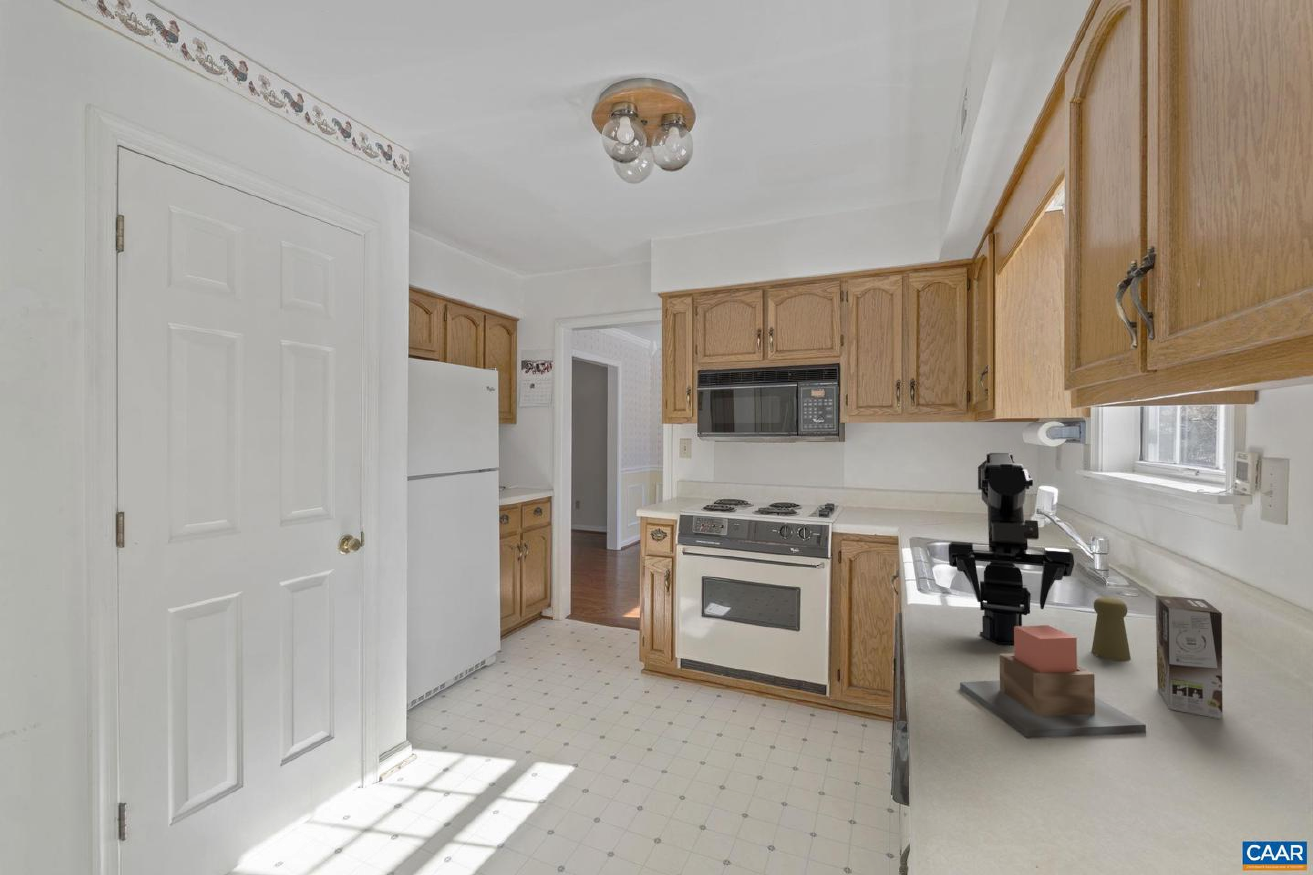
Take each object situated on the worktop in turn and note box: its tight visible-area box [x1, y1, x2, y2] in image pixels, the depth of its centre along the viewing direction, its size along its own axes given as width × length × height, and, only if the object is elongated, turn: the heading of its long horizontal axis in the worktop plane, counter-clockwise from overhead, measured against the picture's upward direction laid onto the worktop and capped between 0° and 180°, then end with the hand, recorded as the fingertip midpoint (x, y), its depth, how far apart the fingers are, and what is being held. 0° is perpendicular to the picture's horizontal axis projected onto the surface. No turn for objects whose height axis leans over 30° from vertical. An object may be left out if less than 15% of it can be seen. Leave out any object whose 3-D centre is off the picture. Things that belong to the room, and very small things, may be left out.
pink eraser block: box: [1013, 624, 1078, 673], centre depth 90 cm, size 6×6×6 cm
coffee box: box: [1155, 594, 1223, 720], centre depth 91 cm, size 9×6×16 cm
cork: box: [1091, 596, 1132, 662], centre depth 111 cm, size 6×6×11 cm
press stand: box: [959, 652, 1147, 739], centre depth 90 cm, size 18×16×7 cm
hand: (1009, 604), depth 97 cm, fingers open, 9 cm apart
